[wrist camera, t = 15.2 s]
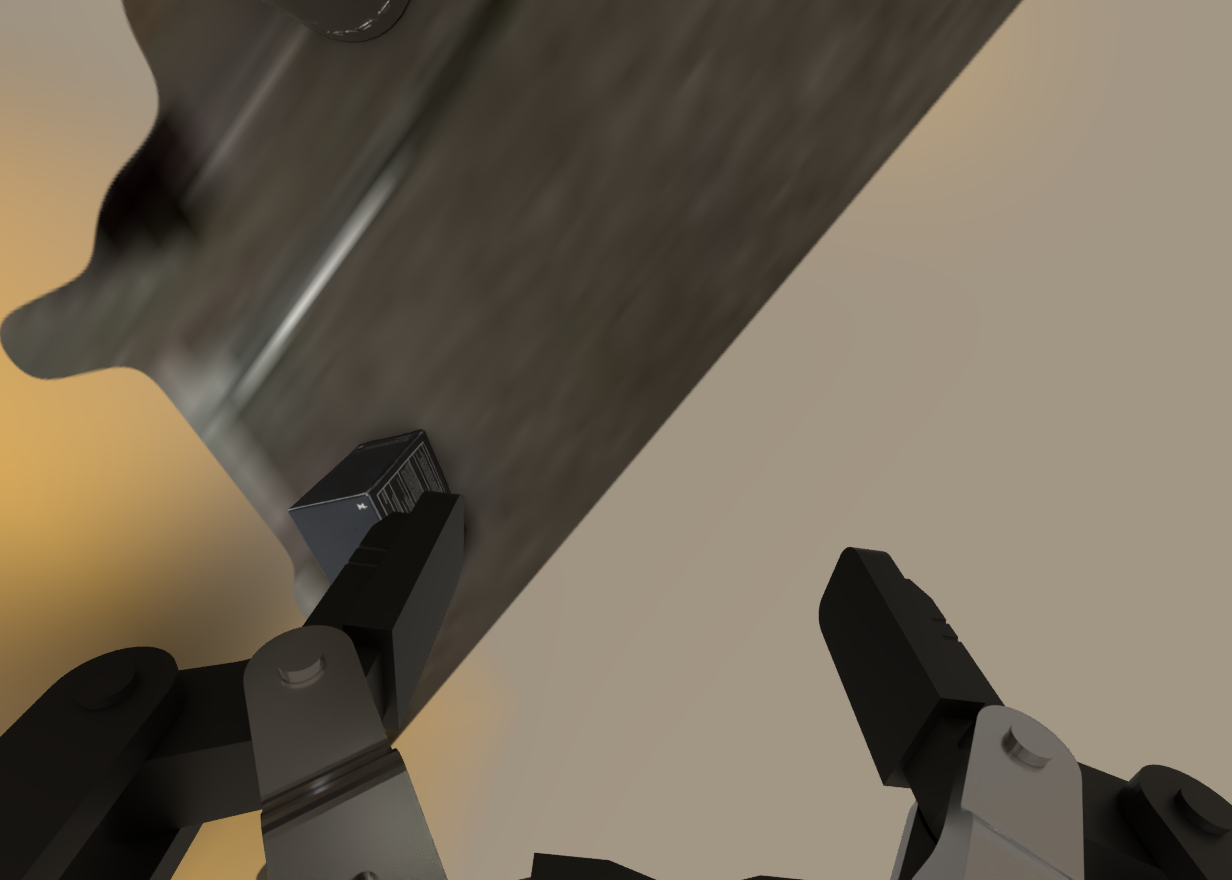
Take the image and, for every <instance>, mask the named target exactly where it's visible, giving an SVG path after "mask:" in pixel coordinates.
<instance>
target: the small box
mask: <svg viewBox="0 0 1232 880" xmlns="http://www.w3.org/2000/svg"><path fill="white" fill-rule="evenodd" d="M425 490H429V491H436V492H444V493H450V491H449V489H448V487H447V484H446V482H445V479H444V477H443V475H442V472H441V470H440V468H439V465H438V463H437V461H436V458H435V456H434V454H433V451H432V449H431V447H430V444H429V442H428V440H427V437H426V435H425V432H423V431H415V432H412V433H410V434H404V435H401V436H397V437H393V438H386V439H383V440H379V441H378V440H375V441H371V442H368V443H365V444H362V445H359V446H358V447H357V448H356V449H355V450H353V451H352V452H351V453H350V454H349V455H348V456H347V457H346V458H345V459H344V460H343V461H341V462H340V463H339V464H338V465H337V466H336V467H335V468H334V469H333V470H332V471H331V472H330V473H328V474H327V475H326V476H325V477H324V478H323V479H322V480H320V481H319V482H318V483H317V484H316V485H315V486H314V487H313V488H312V489H311V490H309V491H308V492H307V493H306V494H305V495H304V496H303V497H302V498H301V499H300V500H299V501H298V502H296V503H295V504H294V505H293V506H292V507H290V508H289V509H288V512H289V514H290V516H291V517H292V519H293V521H294V523H295V524H296V526H297V528H298V530H299V531H300V533H301V535H302V536H303V538H304V540H305V541H306V543H307V545H308V547H309V548H310V550H311V552H312V553H313V555H314V557H315V559H316V560H317V562H318V564H319V566H320V567H321V569H322V571H323V573H324V574H325V576H326V578H327V580H328V581H329V583H330V585H332V583H333V582H334V580H335V579H336V577H337V576H338V574H339V573H340V572H341V570H342V569H343V567H344V566H345V564H348V561H349V559H350V557H351V556H352V554H353V553H354V551H355V550H356V548H359V544H360V543H361V541H362V540H363V538H364V537H365V535H366V534H367V533H368V531H369V530H370V528H371V527H372V526H373V525H374V524H376V523H377V522H379V521H380V520H382V519H383V518H385V517H386V516H388V515H389V514H391V513H392V512H393V511H395V512H403V513H410V512H411V511H412V509H413V508H414V506H415V504H416V503H417V501H418V499H419V498H420V496H421V494H422V493H423V492H424V491H425ZM465 533H466V529H465V527H464V535H465Z"/></svg>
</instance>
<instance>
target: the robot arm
mask: <svg viewBox="0 0 1232 880" xmlns="http://www.w3.org/2000/svg"><path fill="white" fill-rule="evenodd" d="M260 1H262V2H264V3H266V4H267V5H269V6H271V7H273V8H275V9H276V10H278V11H280V12H282V13H283V14H285V15H287V16H289V17H291V18H293V19H294V20H296V21H298V22H300V23H302V24H304V25H305V26H307V27H309V28H311V29H313V30H315V31H316V32H318V33H321V34H323V35H325V36H327V37H330V38H332V39H336V40H341V41H346V42H357V41H365V40H368V39H371V38H374V37H377V36H379V35H380V34H382V33H383V32H385V31H386V30H388V29H389V28H391V26H392V25H393V24H394V23H395V22H396V21H397V20H398V18H399V17H400V16H401V14H402V13H403V11H404V9H405V7H406V5H407V3H408V1H409V0H260ZM463 551H464V497H463V495H459V494H451V493H444V492H436V491H429V490H425V491H424V492H423V493H422V494H421V496H420V498H419V499H418V501H417V503H416V504H415V506H414V508H413V509H412V511H411V512H410V513H403V512H395V511H393V512H392V513H391V514H389V515H388V516H386V517H385V518H383V519H382V520H380V521H379V522H377V523H376V524H374V525H373V526H372V527H371V528H370V530H369V531H368V533H367V534H366V535H365V537H364V538H363V540H362V541H361V543H360V544H359V548H356V550H355V551H354V553H353V554H352V556H351V557H350V559H349V561H348V564H345V566H344V567H343V569H342V570H341V572H340V573H339V574H338V576H337V577H336V579H335V580H334V582H333V583H332V585H331V586H330V587H329V589H328V590H327V592H326V593H325V595H324V596H323V598H322V599H321V600H320V602H319V603H318V605H317V606H316V608H315V609H314V611H313V612H312V613H311V615H310V616H309V618H308V619H307V621H306V622H305V624H304V625H303V626H302V627H300V628H296V629H293V630H290V631H287V632H285V633H283V634H281V635H279V636H277V637H275V638H273V639H272V640H270V641H269V642H267V643H266V644H265V645H263V646H262V647H261V648H260V649H259V650H258V651H257V652H256V653H255V654H254V655H253V657H252V658H251V659H247V660H244V661H238V662H233V663H226V664H220V665H213V666H207V667H200V668H192V669H186V670H178V667H177V664H176V662H175V659H174V658H173V657H172V656H171V655H170V654H169V653H168V652H166V651H164V650H162V649H158V648H154V647H132V648H125V649H120V650H116V651H113V652H110V653H106V654H103V655H101V656H98V657H96V658H94V659H91V660H89V661H87V662H85V663H83V664H81V665H80V666H78V667H76V668H75V669H73V670H71V671H70V672H68V673H67V674H66V675H64V676H63V677H61V678H60V679H59V680H58V681H57V682H56V683H55V684H53V685H52V686H51V687H50V688H49V689H48V690H47V691H46V692H45V693H44V694H43V695H42V696H41V697H40V698H39V699H38V700H37V701H36V702H35V703H34V704H33V705H32V706H31V707H30V708H29V709H28V710H27V711H26V712H25V713H24V714H23V715H22V716H21V717H20V718H19V719H18V720H17V721H16V722H15V723H14V724H13V725H12V726H11V727H10V728H9V729H8V730H7V731H6V732H5V733H4V734H3V735H2V736H1V737H0V880H170V879H171V878H172V876H173V874H174V873H175V871H176V869H177V867H178V866H179V864H180V862H181V860H182V859H183V857H184V855H185V853H186V852H187V850H188V848H189V847H190V845H191V843H192V841H193V840H194V838H195V836H196V834H197V833H198V831H199V829H200V827H201V826H202V824H203V823H205V822H209V821H213V820H218V819H222V818H226V817H230V816H235V815H239V814H243V813H248V812H252V811H257V810H261V809H262V813H261V829H262V837H263V843H264V851H265V858H266V865H267V871H268V878H269V880H448V879H447V877H446V874H445V872H444V869H443V866H442V863H441V860H440V858H439V855H438V852H437V850H436V847H435V845H434V842H433V839H432V836H431V834H430V831H429V828H428V826H427V823H426V820H425V817H424V814H423V812H422V809H421V806H420V804H419V801H418V798H417V796H416V793H415V791H414V787H413V785H412V782H411V779H410V777H409V774H408V771H407V769H406V766H405V763H404V761H403V759H402V757H401V755H400V753H399V751H398V750H397V749H396V748H395V749H392V748H391V746H390V744H389V742H388V739H387V736H386V733H385V731H384V728H386V729H395V730H399V729H400V726H401V724H402V721H403V719H404V716H405V714H406V711H407V709H408V706H409V704H410V701H411V699H412V696H413V694H414V691H415V689H416V686H417V684H418V681H419V679H420V676H421V674H422V671H423V669H424V666H425V664H426V661H427V659H428V656H429V654H430V651H431V649H432V646H433V644H434V641H435V639H436V636H437V634H438V631H439V629H440V626H441V624H442V621H443V619H444V616H445V614H446V611H447V609H448V606H449V604H450V601H451V599H452V596H453V594H454V591H455V589H456V586H457V584H458V581H459V577H460V573H461V568H462V563H463ZM819 624H820V628H821V632H822V634H823V637H824V639H825V642H826V644H827V646H828V649H829V651H830V654H831V656H832V659H833V661H834V664H835V666H836V669H837V671H838V674H839V676H840V678H841V681H842V683H843V686H844V689H845V691H846V693H847V696H848V698H849V701H850V703H851V706H852V708H853V711H854V713H855V716H856V718H857V721H858V723H859V726H860V728H861V731H862V733H863V735H864V738H865V740H866V743H867V746H868V748H869V750H870V753H871V756H872V758H873V760H874V763H875V765H876V768H877V770H878V773H879V775H880V778H881V780H882V783H883V785H884V786H893V787H903V788H911V790H912V792H913V794H914V796H915V798H916V801H915V803H914V804H913V805H912V807H911V808H910V811H909V813H908V817H907V820H906V824H905V827H904V831H903V835H902V839H901V842H900V846H899V849H898V853H897V857H896V861H895V864H894V867H893V871H892V875H891V878H890V880H1232V805H1231V804H1230V803H1228V802H1227V801H1226V800H1225V799H1224V798H1222V797H1221V796H1220V795H1218V794H1217V793H1216V792H1214V791H1213V790H1212V789H1210V788H1209V787H1207V786H1206V785H1204V784H1202V783H1201V782H1199V781H1198V780H1196V779H1194V778H1192V777H1190V776H1189V775H1187V774H1185V773H1182V772H1180V771H1178V770H1175V769H1172V768H1169V767H1166V766H1161V765H1147V766H1145V767H1143V768H1142V769H1141V770H1140V771H1139V772H1138V773H1137V774H1136V775H1135V776H1134V777H1133V778H1132V779H1131V780H1130V781H1129V782H1128V781H1125V780H1123V779H1120V778H1118V777H1115V776H1112V775H1110V774H1107V773H1105V772H1102V771H1099V770H1097V769H1095V768H1092V767H1089V766H1087V765H1084V764H1081V763H1079V762H1077V761H1076V759H1075V758H1074V756H1073V755H1072V753H1071V752H1070V750H1069V749H1068V748H1067V747H1066V746H1065V744H1064V743H1063V742H1062V741H1061V740H1060V739H1059V738H1058V737H1057V736H1056V735H1055V734H1054V733H1053V732H1051V731H1050V730H1049V729H1048V728H1047V727H1045V726H1044V725H1042V724H1041V723H1040V722H1038V721H1037V720H1035V719H1033V718H1032V717H1030V716H1028V715H1026V714H1024V713H1022V712H1020V711H1017V710H1015V709H1012V708H1009V707H1005V705H1004V704H1003V702H1002V701H1001V700H1000V698H999V697H998V695H997V694H996V692H995V691H994V689H993V688H992V686H991V685H990V684H989V682H988V681H987V679H986V678H985V676H984V675H983V673H982V672H981V670H980V669H979V667H978V666H977V665H976V663H975V661H974V660H973V658H972V657H971V656H970V654H969V653H968V651H967V650H966V648H965V647H964V645H963V644H962V642H958V636H957V635H956V634H955V632H954V631H953V629H952V628H951V626H950V625H949V624H946V619H945V618H944V616H943V614H942V613H941V612H940V610H939V609H938V607H937V606H936V604H935V603H934V601H933V600H932V599H931V598H930V597H929V596H928V595H927V594H926V593H924V591H922V590H921V589H920V588H919V587H918V586H917V585H916V584H914V583H913V582H912V581H911V580H910V579H905V578H904V576H903V575H902V573H901V572H900V570H899V569H898V567H897V566H896V565H895V563H894V561H893V560H892V558H891V557H890V555H889V554H888V553H886V552H883V551H876V550H869V549H861V548H853V547H847V548H846V549H845V550H844V551H843V552H842V554H841V555H840V558H839V560H838V562H837V564H836V567H835V569H834V571H833V574H832V576H831V578H830V581H829V583H828V585H827V588H826V590H825V592H824V594H823V597H822V599H821V602H820V607H819ZM520 880H655V879H653V878H650V877H648V876H646V875H643V874H641V873H638V872H636V871H634V870H631V869H629V868H626V867H624V866H622V865H619V864H617V863H614V862H612V861H610V860H601V859H592V858H581V857H572V856H562V855H551V854H541V853H534V859H533V866H532V873H531V877H529V878H525V879H520ZM744 880H801V879H790V878H781V877H771V876H756V877H752V878H748V879H744Z"/></svg>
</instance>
